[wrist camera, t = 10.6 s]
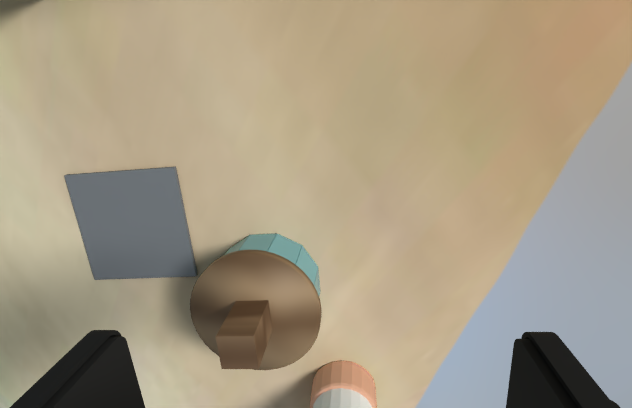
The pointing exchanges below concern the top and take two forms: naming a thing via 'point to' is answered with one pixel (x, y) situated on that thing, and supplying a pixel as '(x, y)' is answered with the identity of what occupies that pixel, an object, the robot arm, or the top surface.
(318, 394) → the salt shaker
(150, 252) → the mat
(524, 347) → the robot arm
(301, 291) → the lid
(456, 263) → the top surface
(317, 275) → the bowl
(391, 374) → the top surface
